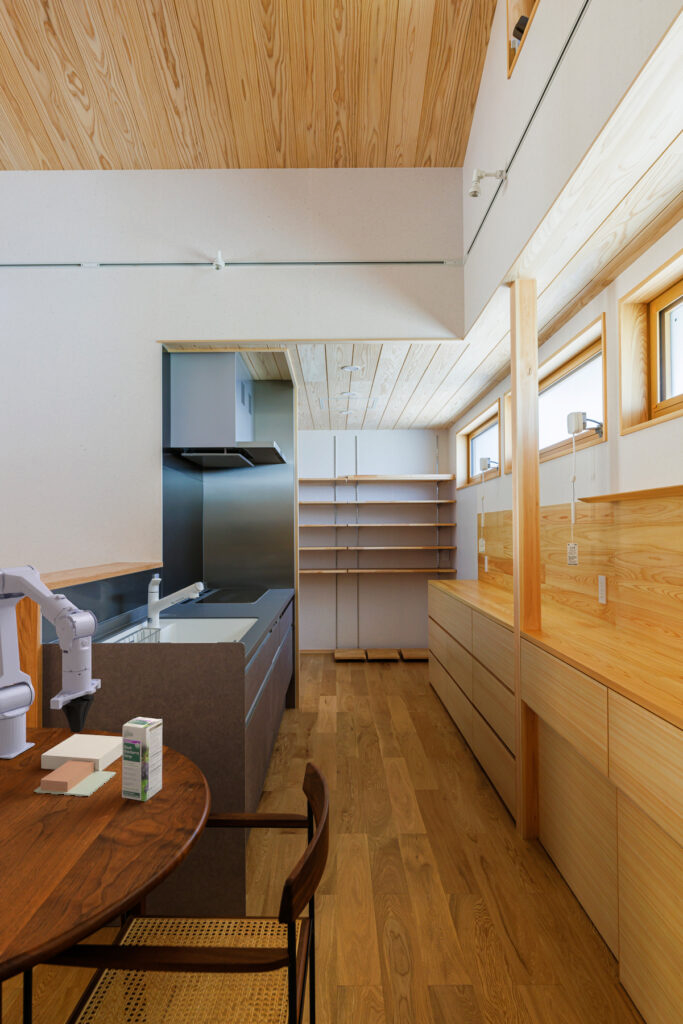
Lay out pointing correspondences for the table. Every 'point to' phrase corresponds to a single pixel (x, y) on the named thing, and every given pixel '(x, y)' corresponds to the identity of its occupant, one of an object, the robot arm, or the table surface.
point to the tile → (67, 776)
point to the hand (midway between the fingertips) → (77, 731)
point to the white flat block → (84, 751)
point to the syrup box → (141, 758)
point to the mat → (84, 784)
